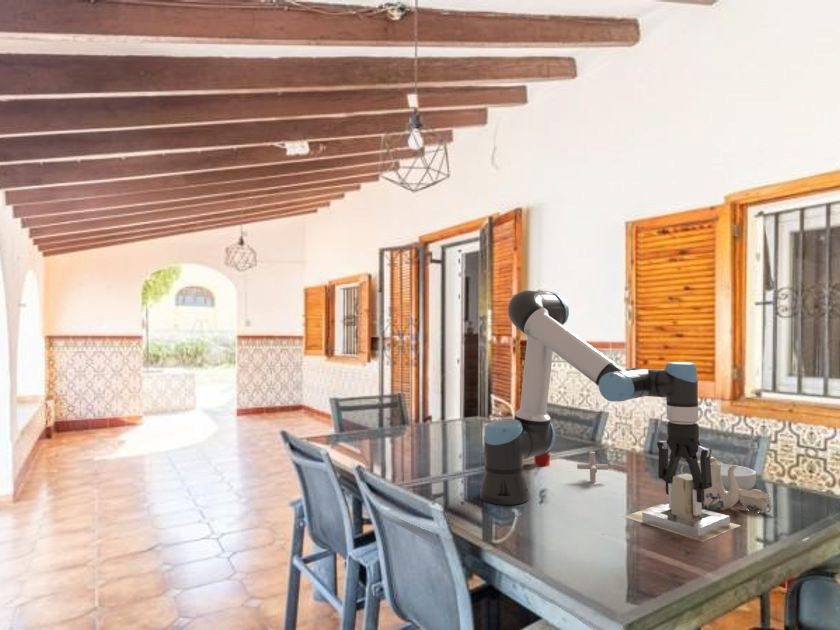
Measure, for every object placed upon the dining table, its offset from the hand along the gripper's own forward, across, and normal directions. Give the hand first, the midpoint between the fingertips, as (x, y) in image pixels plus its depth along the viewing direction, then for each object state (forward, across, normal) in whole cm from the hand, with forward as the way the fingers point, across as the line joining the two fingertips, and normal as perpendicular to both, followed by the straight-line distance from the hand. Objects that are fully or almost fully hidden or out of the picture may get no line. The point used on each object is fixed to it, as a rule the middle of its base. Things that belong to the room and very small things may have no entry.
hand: (685, 510), depth 143 cm
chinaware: (+5, +4, -23) cm, 24 cm away
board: (+4, +2, -1) cm, 5 cm away
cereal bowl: (+5, +10, -40) cm, 41 cm away
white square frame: (+3, 0, 0) cm, 3 cm away
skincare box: (+3, 0, 0) cm, 3 cm away
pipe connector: (+5, +42, -16) cm, 45 cm away
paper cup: (+5, +69, -20) cm, 72 cm away
